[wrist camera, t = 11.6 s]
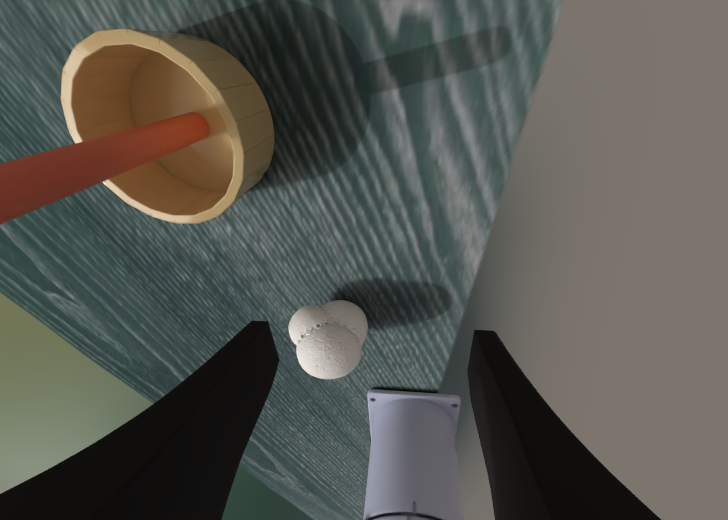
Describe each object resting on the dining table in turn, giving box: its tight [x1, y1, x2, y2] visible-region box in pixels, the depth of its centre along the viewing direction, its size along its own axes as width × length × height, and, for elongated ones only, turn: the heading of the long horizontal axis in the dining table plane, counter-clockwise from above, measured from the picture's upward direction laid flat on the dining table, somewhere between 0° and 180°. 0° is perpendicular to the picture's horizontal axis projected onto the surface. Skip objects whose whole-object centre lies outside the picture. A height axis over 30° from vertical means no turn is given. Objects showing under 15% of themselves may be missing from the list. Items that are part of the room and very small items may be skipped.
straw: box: [0, 112, 209, 224], centre depth 13 cm, size 1×1×11 cm
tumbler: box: [61, 28, 275, 223], centre depth 16 cm, size 8×8×4 cm
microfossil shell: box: [288, 300, 368, 379], centre depth 22 cm, size 4×5×6 cm
